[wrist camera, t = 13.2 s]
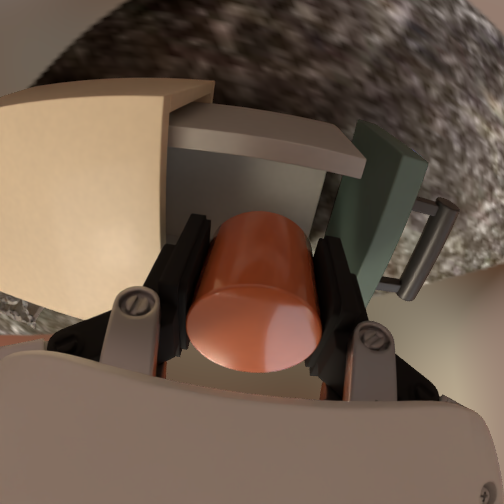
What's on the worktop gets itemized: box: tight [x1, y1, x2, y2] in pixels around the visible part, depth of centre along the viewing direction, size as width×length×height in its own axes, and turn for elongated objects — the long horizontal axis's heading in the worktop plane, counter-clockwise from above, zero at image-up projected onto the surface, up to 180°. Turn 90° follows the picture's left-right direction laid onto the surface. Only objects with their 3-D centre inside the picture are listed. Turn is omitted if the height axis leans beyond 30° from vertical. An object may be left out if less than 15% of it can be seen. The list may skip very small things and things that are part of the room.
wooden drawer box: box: [0, 78, 215, 320], centre depth 15 cm, size 13×11×8 cm
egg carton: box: [0, 291, 44, 329], centre depth 24 cm, size 11×8×4 cm
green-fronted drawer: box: [166, 102, 460, 309], centre depth 15 cm, size 17×10×7 cm, turn 82°
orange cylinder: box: [186, 211, 322, 373], centre depth 10 cm, size 4×4×4 cm
